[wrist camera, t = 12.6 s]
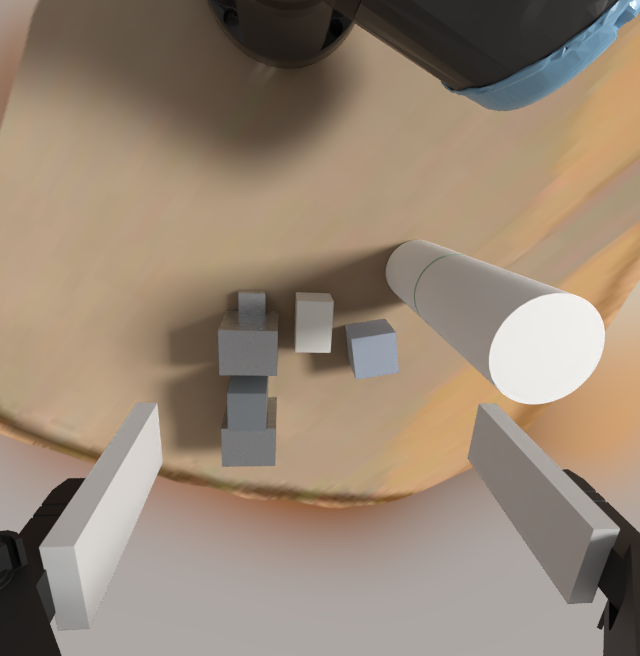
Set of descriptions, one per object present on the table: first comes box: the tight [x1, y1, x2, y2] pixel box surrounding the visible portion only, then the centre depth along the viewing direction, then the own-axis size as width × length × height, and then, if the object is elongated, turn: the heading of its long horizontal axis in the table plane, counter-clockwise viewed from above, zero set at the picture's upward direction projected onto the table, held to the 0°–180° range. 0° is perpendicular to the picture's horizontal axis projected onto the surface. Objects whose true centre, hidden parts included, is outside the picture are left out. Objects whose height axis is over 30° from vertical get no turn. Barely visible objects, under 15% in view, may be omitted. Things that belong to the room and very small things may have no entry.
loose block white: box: [294, 292, 334, 353], centre depth 46 cm, size 6×4×4 cm, turn 177°
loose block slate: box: [345, 319, 399, 379], centre depth 48 cm, size 5×5×5 cm
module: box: [227, 375, 268, 431], centre depth 45 cm, size 5×4×7 cm
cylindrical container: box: [386, 240, 605, 404], centre depth 36 cm, size 7×7×25 cm
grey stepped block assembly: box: [218, 290, 278, 467], centre depth 46 cm, size 20×6×7 cm, turn 177°
